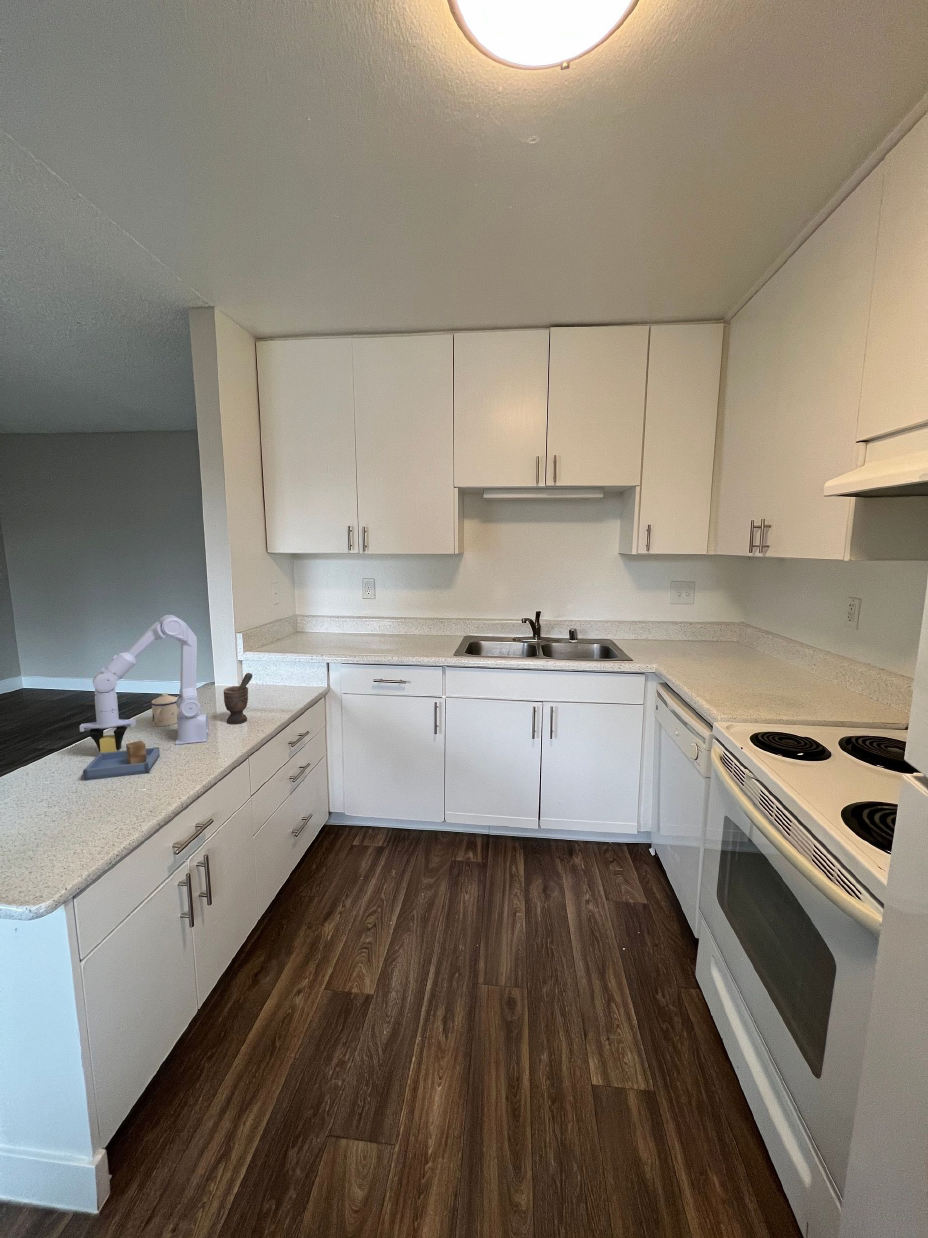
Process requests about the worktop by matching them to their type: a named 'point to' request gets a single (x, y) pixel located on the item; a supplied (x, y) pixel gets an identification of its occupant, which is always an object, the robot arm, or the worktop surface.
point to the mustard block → (108, 744)
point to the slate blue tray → (119, 765)
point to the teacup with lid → (164, 710)
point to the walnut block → (136, 752)
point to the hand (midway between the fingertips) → (110, 750)
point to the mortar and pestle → (237, 700)
